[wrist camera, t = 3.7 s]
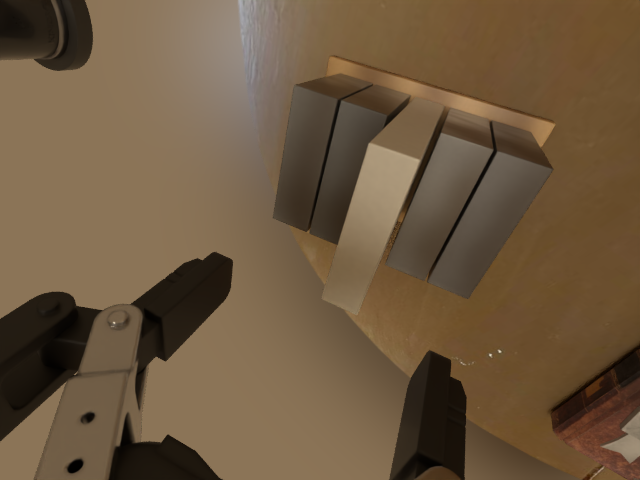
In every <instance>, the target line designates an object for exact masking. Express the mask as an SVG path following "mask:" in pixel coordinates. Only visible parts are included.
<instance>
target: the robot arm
mask: <svg viewBox="0 0 640 480" xmlns="http://www.w3.org/2000/svg"><path fill="white" fill-rule="evenodd" d="M67 44H68V24H67V19H66V15H65V12H64V9H63V6H62V3H61V1H60V0H0V60H19V59H56V58H59V57H60V56H62V55H63V53H64V52H65V50H66V48H67ZM232 267H233V261H232V259H230V258H228V257H225V256H223V255H221V254H219V253H217V252H213V253H211V254H210V255H209V256H207V257H206V258H205V259H204V260H200V259H198V258H197V259H194V260H191V261H189V262H186V263H184V264H182V265H181V266H180V267H179V268H177V269H176V270H175V271H174V272H173V273H171V274H169V275H168V276H167V277H166V278H165V279H163V280H162V281H160V282H159V283H158V284H156V285H155V286H154V287H152V288H151V289H150V290H149V291H147V292H146V293H145V294H143V295H142V296H141V297H140V298H138V299H137V300H136V301H134V302H133V303H131V304H118V305H114V306H111V307H108V308H106V309H104V310H97V309H91V308H85V307H79V306H76V303H75V300H74V298H73V297H72V296H71V295H70V294H68V293H64V292H49V293H44V294H41V295H39V296H36V297H35V298H33V299H31V300H29V301H28V302H26V303H25V304H23V305H21V306H20V307H18V308H17V309H15V310H14V311H12V312H10V313H9V314H8V315H6V316H4V317H3V318H1V319H0V441H1V440H2V439H3V438H4V437H6V436H7V435H8V434H9V433H10V432H11V431H12V430H13V429H14V428H15V427H17V426H18V425H19V424H20V423H21V422H22V421H23V420H24V419H25V418H27V417H28V416H29V415H30V414H31V413H32V412H33V411H34V410H35V409H36V408H38V407H39V406H40V405H41V404H42V403H43V402H44V401H45V400H46V399H47V398H48V397H50V396H51V395H52V394H53V393H54V392H55V391H56V390H57V389H58V388H60V386H62V385H63V384H64V383H65V382H66V381H67V383H66V385H65V387H64V391H63V393H62V396H61V399H60V402H59V406H58V408H57V412H56V414H55V417H54V420H53V423H52V426H51V429H50V432H49V435H48V438H47V441H46V444H45V447H44V450H43V453H42V457H41V459H40V462H39V465H38V468H37V471H36V474H35V477H34V480H222V479H220V478H219V477H218V476H217V475H216V474H215V473H214V472H213V470H212V469H211V468H210V467H209V466H208V465H207V463H206V462H205V461H204V460H203V459H202V458H201V457H200V455H199V454H198V453H197V452H196V451H195V450H193V449H191V448H189V447H188V446H186V445H185V444H183V443H181V442H180V441H178V440H176V439H175V438H173V437H171V436H170V435H167V436H166V437H165V439H164V440H163V441H162V442H161V443H160V442H150V441H149V442H141V433H142V411H143V404H144V397H145V390H146V383H147V376H148V369H149V363H150V362H151V361H152V360H153V359H154V358H155V357H158V358H160V359H162V360H164V361H167V360H168V359H169V358H170V357H171V356H172V354H173V353H174V352H175V351H176V350H177V349H178V348H179V347H180V346H181V345H182V344H183V343H184V342H185V341H186V340H187V339H188V338H189V337H190V336H191V335H192V334H193V333H194V332H195V331H196V329H197V328H198V327H199V326H200V325H201V324H202V323H203V322H204V321H205V320H206V319H207V318H208V317H209V316H210V315H211V314H212V313H213V312H214V311H215V310H216V309H217V308H218V307H219V306H220V305H221V303H223V302H224V300H225V299H226V297H227V296H228V294H229V292H230V288H231V279H232ZM77 371H78V373H77V374H76V375H74V374H75V373H76V372H77ZM450 372H451V360H450V359H448V358H446V357H443V356H441V355H439V354H437V353H435V352H432V351H430V350H429V351H428V352H427V353H426V355H425V357H424V358H423V360H422V361H421V363H420V364H419V366H418V367H417V369H416V371H415V372H414V374H413V375H412V377H411V380H410V382H409V385H408V388H407V393H406V398H405V403H404V408H403V413H402V418H401V423H400V428H399V433H398V438H397V443H396V448H395V454H394V458H393V463H392V468H391V474H390V479H389V480H465V477H464V469H465V431H466V430H465V425H466V415H465V414H466V395H465V392H464V389H463V386H462V384H461V381H459V380H456V379H454V378H452V377H450Z"/></svg>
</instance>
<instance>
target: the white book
mask: <svg viewBox="0 0 640 480" xmlns="http://www.w3.org/2000/svg"><path fill="white" fill-rule="evenodd" d="M444 107H445V106H444V105H441V104H438V103H435V102H432V101H428V100H425V99H422V98H419V97H415V98H414V99H413V100H412V101H411V102H410V103H409V104H408V105H407V106H406V107H405V108H404V109H403V110H402V111H401V112H400V113H399V114H398V115H397V116H396V117H395V118H394V119H393V120H392V121H391V122H390V123H389V124H388V125H387V126H386V127H385V128H384V129H383V130H382V131H381V132H380V133H379V134H378V135H377V136H376V137H375V138H374V139H373V140H372V141H371V142H370V143H369V144H368V147H367V150H366V154H365V157H364V160H363V164H362V167H361V170H360V173H359V177H358V180H357V183H356V186H355V190H354V193H353V196H352V199H351V203H350V206H349V209H348V213H347V216H346V219H345V222H344V226H343V229H342V232H341V235H340V239H339V242H338V245H337V248H336V252H335V255H334V258H333V261H332V265H331V268H330V271H329V275H328V278H327V281H326V284H325V288H324V291H323V294H322V300H325V301H327V302H329V303H331V304H333V305H336V306H338V307H340V308H342V309H345V310H347V311H349V312H351V313H353V314H356V315H357V314H358V313H359V310H360V308H361V306H362V303H363V301H364V298H365V296H366V294H367V291H368V289H369V287H370V284H371V282H372V280H373V277H374V275H375V273H376V270H377V268H378V266H379V263H380V261H381V259H382V256H383V254H384V252H385V249H386V247H387V244H388V242H389V240H390V237H391V235H392V233H393V230H394V228H395V226H396V223H397V221H398V219H399V216H400V214H401V212H402V209H403V207H404V204H405V202H406V200H407V197H408V195H409V192H410V190H411V187H412V185H413V183H414V180H415V178H416V175H417V173H418V170H419V168H420V166H421V163H422V161H423V158H424V156H425V153H426V151H427V149H428V146H429V144H430V141H431V139H432V137H433V134H434V132H435V129H436V127H437V124H438V122H439V120H440V117H441V115H442V112H443V110H444Z"/></svg>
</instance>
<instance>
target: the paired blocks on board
mask: <svg viewBox="0 0 640 480" xmlns="http://www.w3.org/2000/svg"><path fill="white" fill-rule="evenodd" d="M415 97H419V98H422V99H425V100H428V101H432V102H435V103H438V104H441V105H444V106H445V107H444V110H443V112H442V115H441V117H440V120H439V122H438V124H437V127H436V129H435V132H434V134H433V137H432V139H431V141H430V144H429V146H428V149H427V151H426V153H425V156H424V158H423V161H422V163H421V166H420V168H419V170H418V173H417V175H416V178H415V180H414V183H413V185H412V187H411V190H410V192H409V195H408V197H407V200H406V202H405V204H404V207H403V209H402V212H401V214H400V216H399V219H398V222H401V226H400V228H399V231H398V233H397V236H396V238H395V241H394V243H393V246H392V248H391V251H390V253H389V256H388V258H387V261H386V263H385V265H387V266H389V267H392V268H394V269H396V270H399V271H401V272H404V273H406V274H409V275H411V276H413V277H416V278H418V279H421V280H423V281H424V280H425V278H426V277H427V275H428V273H429V275H428V280H427V282H428V283H430V284H433V285H435V286H438V287H440V288H442V289H445V290H447V291H450V292H452V293H454V294H457V295H459V296H462V297H464V298H467V299H469V297H470V296H471V294H472V292H473V291H474V289H475V288H476V286H477V285H478V283H479V282H480V280H481V279H482V277H483V276H484V274H485V273H486V271H487V270H488V268H489V267H490V265H491V264H492V262H493V261H494V259H495V258H496V256H497V255H498V253H499V251H500V250H501V248H502V247H503V245H504V244H505V242H506V241H507V239H508V238H509V236H510V235H511V233H512V232H513V230H514V229H515V227H516V226H517V224H518V223H519V221H520V220H521V218H522V217H523V215H524V214H525V212H526V211H527V209H528V207H529V206H530V204H531V203H532V201H533V200H534V198H535V197H536V195H537V194H538V192H539V191H540V189H541V188H542V186H543V185H544V183H545V182H546V180H547V179H548V177H549V176H550V174H551V173H552V171H553V168H552V166H551V164H550V163H549V161H548V159H547V158H546V156H545V154H544V153H543V151H542V149H541V148H542V146H543V145H544V143H545V141H546V140H547V138H548V136H549V135H550V133H551V132H552V130H553V128H554V127H555V125H556V124H555V123H554V122H553V121H551V120H548V119H544V118H541V117H538V116H534V115H531V114H528V113H524V112H521V111H518V110H514V109H511V108H508V107H504V106H501V105H497V104H494V103H491V102H487V101H484V100H481V99H477V98H474V97H471V96H467V95H464V94H461V93H457V92H454V91H451V90H447V89H444V88H441V87H437V86H434V85H431V84H427V83H424V82H421V81H417V80H414V79H411V78H407V77H404V76H401V75H397V74H394V73H391V72H387V71H384V70H381V69H377V68H374V67H371V66H367V65H364V64H361V63H357V62H354V61H351V60H347V59H344V58H341V57H337V56H330V57H329V62H328V67H327V72H326V77H323V78H320V79H316V80H312V81H308V82H304V83H300V84H296V85H294V89H293V95H292V102H291V108H290V114H289V120H288V127H287V133H286V139H285V145H284V152H283V158H282V164H281V170H280V177H279V183H278V189H277V195H276V202H275V208H274V214H273V218H274V219H276V220H279V221H281V222H284V223H286V224H288V225H291V226H293V227H296V228H298V229H300V230H303V231H305V232H307V231H308V230H309V229H310V234H312V235H315V236H317V237H320V238H322V239H324V240H327V241H329V242H332V243H334V244H337V245H338V242H339V239H340V235H341V232H342V229H343V226H344V222H345V219H346V216H347V213H348V209H349V206H350V203H351V199H352V196H353V193H354V190H355V186H356V183H357V180H358V177H359V173H360V170H361V167H362V164H363V160H364V157H365V154H366V150H367V147H368V144H369V143H370V142H371V141H372V140H373V139H374V138H375V137H376V136H377V135H378V134H379V133H380V132H381V131H382V130H383V129H384V128H385V127H386V126H387V125H388V124H389V123H390V122H391V121H392V120H393V119H394V118H395V117H396V116H397V115H398V114H399V113H400V112H401V111H402V110H403V109H404V108H405V107H406V106H407V105H408V104H409V103H410V102H411V101H412V100H413V99H414V98H415ZM310 227H311V228H310Z"/></svg>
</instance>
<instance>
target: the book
mask: <svg viewBox="0 0 640 480" xmlns="http://www.w3.org/2000/svg"><path fill="white" fill-rule="evenodd" d="M551 417H552V427H553V431H554V433H555V434H556V435H557V437H558V438H559V439H560V440H564V441H565V443H566V444H567V445H569V446H571V447H572V448H574V449H576V450H578V451H579V452H581V453H583V454H584V455H586V456H588V457H590V458H591V459H593V460H595V461H597V462H598V463H600V464H602V465H603V466H605V467H607V468H609V469H610V470H612V471H614V472H616V473H617V474H619V475H621V476H622V477H624V478H626V479H628V480H640V349H639V350H637V351H636V352H635V353H633V354H632V355H630V356H629V357H628V358H626V359H625V360H624V361H622V362H621V363H620V364H618V365H617V366H615V367H614V368H613V369H611V370H610V371H609V372H607V373H606V374H605V375H603V376H602V377H600V378H599V379H598V380H596V381H595V382H594V383H592V384H591V385H590V386H588V387H587V388H585V389H584V390H583V391H581V392H580V393H579V394H577V395H576V396H575V397H573V398H572V399H570V400H569V401H568V402H566V403H565V404H564V405H562V406H561V407H560V408H558V409H557V410H555V411H554V412H553V413H551Z"/></svg>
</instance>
